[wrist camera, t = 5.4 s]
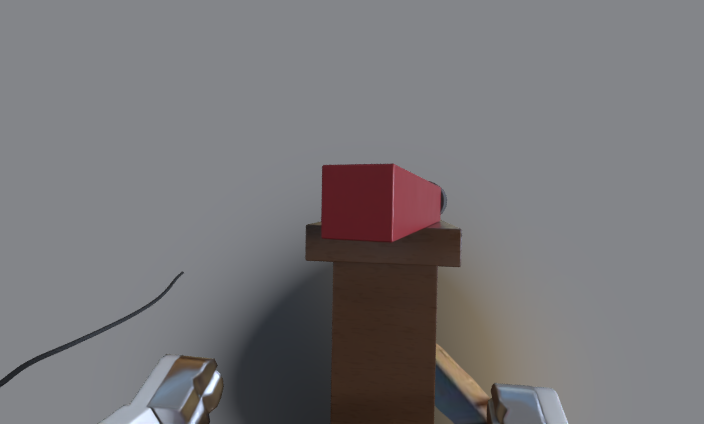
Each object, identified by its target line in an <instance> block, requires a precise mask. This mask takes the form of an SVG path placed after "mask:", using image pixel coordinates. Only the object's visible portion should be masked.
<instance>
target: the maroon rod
mask: <svg viewBox="0 0 704 424" xmlns="http://www.w3.org/2000/svg"><path fill="white" fill-rule="evenodd" d="M446 205H447V197H446V194H445V192H444V190H443V189H442V188H441V187H440V186H438V185H437V184H435V183H432V182H430V181H427V180H425V179H422V178H421V177H419V176H417V175H415V174H413V173H411V172H409V171H407V170H405V169H403V168H400V167H399V166H397V165H395V164H355V165H354V164H351V165H323V166H322V217H321V238H322V239H335V240H353V241H372V242H390V243H391V242H394V241H396V240H398V239H401V238H403V237H405V236H407V235H410V234H412V233H414V232H417V231H419V230H421V229H423V228H426V227H428V226H430V225H432V224H435V223H437V222H439V221H440V215H441V214H442V213H443V211H444V210H445V208H446Z"/></svg>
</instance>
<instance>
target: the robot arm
mask: <svg viewBox="0 0 704 424" xmlns="http://www.w3.org/2000/svg"><path fill="white" fill-rule="evenodd" d="M183 273H184V272H181V273H180V274H179V275H178V276H177V277H176V278H175V279H174V280H173V281H172V282H171V284H170V285H169V286H168V287H167V289H166V290H165V291H164V292H163V293H162V294H161V295H160V296H158V297H157V298H156V299H155V300H153V301H152V302H150V303H149V304H147V305H146V306H144V307H142V308H141V309H139V310H137V311H135V312H134V313H132V314H130V315H128V316H126V317H124V318H122V319H120V320H118V321H116V322H114V323H112V324H109V325H107V326H105V327H103V328H101V329H99V330H97V331H94V332H92V333H90V334H88V335H86V336H83V337H81V338H79V339H77V340H74V341H72V342H70V343H68V344H65V345H63V346H61V347H58V348H56V349H53V350H51V351H49V352H46V353H44V354H41V355H39V356H37V357H35V358H33V359H31V360H29V361H27V362H25V363H24V364H22V365H20V366H19V367H17V368H16V369H15V370H13V371H12V372H11V373H9V374H8V375H7V376H6V377H5V378H3V379H2V380H0V387H2V386H3V385H4V384H6V383H7V382H8V381H9V380H11V379H12V378H13V377H14V376H16V375H17V374H18V373H20V372H21V371H22V370H24V369H25V368H27V367H29V366H30V365H32V364H34V363H36V362H38V361H40V360H42V359H44V358H47V357H49V356H51V355H54V354H56V353H58V352H60V351H63V350H65V349H68V348H69V347H72V346H74V345H76V344H78V343H80V342H83V341H85V340H87V339H89V338H91V337H93V336H96V335H98V334H100V333H102V332H104V331H106V330H108V329H110V328H112V327H114V326H116V325H118V324H120V323H122V322H124V321H126V320H128V319H130V318H132V317H133V316H135V315H137V314H139V313H140V312H142V311H143V310H145V309H147V308H148V307H150V306H151V305H153V304H154V303H156V302H157V301H158V300H159V299H161V298H162V297H163V296H164V295H165V294H166V293H167V292H168V291H169V289H170V288H171V287H172V285H173V284H174V283H175V282H176V280H177V279H178V278H179V277H180V276H181V275H182V274H183ZM216 368H217V363H216V361H215V359H212V358H202V357H191V356H183V355H171V354H166V355H165V356H163V357H162V358H161V359H160V360H159V362H158V363H157V365H156V366H155V368H154V369H153V371H152V372H151V373H150V375H149V376H148V378H147V379H146V381H145V382H144V384H143V385H142V387H141V388H140V390H139V391H138V393H137V394H136V396H135V397H134V398H133V400H132V401H131V403H130V404H129V405H123V406H122V407H121V408H119V409H118V410H116V411H115V412H113V413H112V414H111V415H109V416H108V417H107V418H105V419H103V420H102V421H101V422H99V423H98V424H209V423H210V418H209V413H210V412H211V411H212V410H214V409H215V408H216V407H217V406H218V404H219V401H220V399H221V396H222V392H223V387H224V386H223V378H222V375H221V374H220V373H218V372H217V371H216ZM491 394H492V398H491V399H490V400H488V405H487V424H568V422H567V419H566V417H565V414H564V411H563V409H562V406H561V403H560V400H559V398H558V395H557V393H556V392H555V390H554V389H552V388H544V387H532V386H524V385H510V384H497V383H494V384H493V385H492V388H491Z"/></svg>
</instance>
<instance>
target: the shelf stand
mask: <svg viewBox="0 0 704 424" xmlns="http://www.w3.org/2000/svg"><path fill="white" fill-rule="evenodd" d="M461 244H462V230H461V229H460V228H457V227H455V226H453V225H450V224H448V223H446V222H444V221H442V220H440V221H439V222H437V223H435V224H432V225H430V226H428V227H426V228H423V229H421V230H419V231H417V232H414V233H412V234H410V235H407V236H405V237H403V238H401V239H398V240H396V241H394V242H391V243H390V242H372V241H353V240H335V239H322V238H321V222H317V223H312V224H308V225H306V255H305V259H306V260H307V261H327V262H333V306H332V368H331V369H332V370H331V424H434V401H435V360H436V319H437V318H436V317H437V278H438V277H437V275H438V266H445V267H460V266H461Z"/></svg>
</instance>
